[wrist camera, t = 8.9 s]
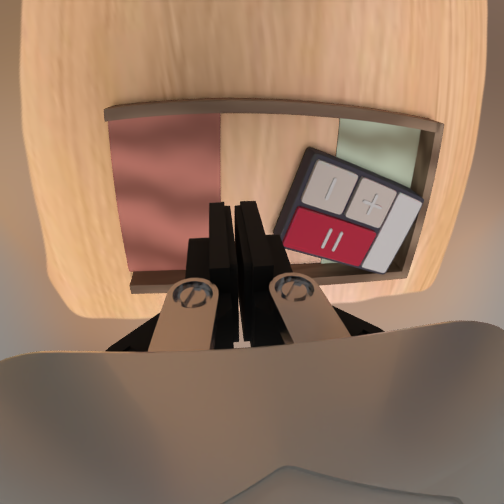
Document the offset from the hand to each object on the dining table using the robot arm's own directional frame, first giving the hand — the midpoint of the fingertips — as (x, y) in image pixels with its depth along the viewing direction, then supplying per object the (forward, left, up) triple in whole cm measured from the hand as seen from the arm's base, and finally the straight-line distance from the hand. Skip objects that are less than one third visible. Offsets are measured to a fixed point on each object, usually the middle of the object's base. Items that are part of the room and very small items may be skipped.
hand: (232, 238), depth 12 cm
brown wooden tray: (+7, +7, -22) cm, 24 cm away
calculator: (+9, +15, -22) cm, 28 cm away
